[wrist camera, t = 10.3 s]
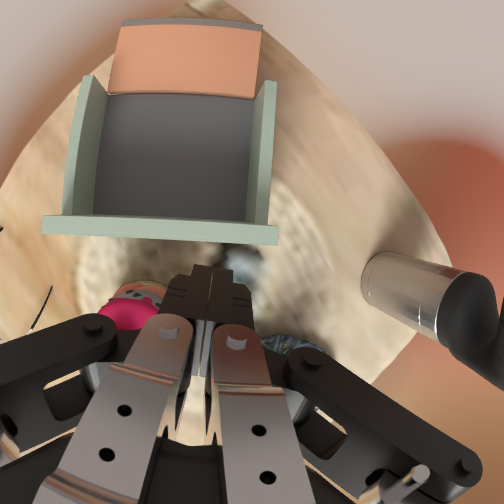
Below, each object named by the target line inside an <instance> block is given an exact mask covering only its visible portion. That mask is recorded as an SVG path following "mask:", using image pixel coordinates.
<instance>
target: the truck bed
mask: <svg viewBox="0 0 504 504" xmlns="http://www.w3.org/2000/svg"><path fill="white" fill-rule="evenodd" d="M276 95H277V81H271V80H265V81H264V83H263V85H262V87H261V89H260V91H259V93H258V94H257V96H256V98H255V100H247V99H239V98H230V97H219V96H206V95H189V94H117V95H108V93H107V92H106V91H105V89H104V88H103V87H102V85H101V84H100V83H99V81H98V80H97V79H96V77H95V76H94V75H87V76H83V80H82V84H81V87H80V91H79V95H78V99H77V104H76V108H75V113H74V118H73V123H72V128H71V133H70V139H69V145H68V152H67V159H66V167H65V176H64V186H63V199H62V215H45V216H42V234H64V235H86V236H108V237H129V238H149V239H168V240H187V241H206V242H224V243H242V244H259V245H276V246H277V243H278V231H279V227H278V226H272V225H267V223H268V210H269V197H270V184H271V170H272V156H273V141H274V126H275V111H276Z"/></svg>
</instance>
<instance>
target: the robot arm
mask: <svg viewBox="0 0 504 504" xmlns="http://www.w3.org/2000/svg"><path fill="white" fill-rule="evenodd" d="M212 270H213V267H209V266H203V265H197V264H194V267H193V270H192V274H191V276H187V275H181V274H178V275H177V276H175V277H174V278H172V279H171V281H170V283H169V285H168V288H167V290H166V293H165V295H164V298H163V300H162V303H161V305H160V308H159V310H158V313H157V315H154V316H152V317H150V318H149V319H148V320H147V321H146V322H145V324H144V326H143V328H140V329H135V330H117V326H116V324H115V322H114V321H113V320H112V319H111V318H109V317H108V316H105V315H102V314H96V313H91V314H85V315H81V316H79V317H76V318H73V319H70V320H67V321H65V322H62V323H59V324H56V325H53V326H51V327H48V328H45V329H42V330H39V331H37V332H34V333H31V334H28V335H25V336H23V337H20V338H17V339H14V340H11V341H8V342H6V343H3V344H0V504H356V503H354V502H353V501H352V500H350V499H349V498H348V497H347V496H345V495H344V494H343V493H341V492H340V491H339V490H337V489H336V488H335V487H334V486H333V485H332V484H330V483H329V482H328V481H327V480H326V479H324V478H323V477H322V476H321V475H319V474H318V473H317V472H316V471H314V470H313V469H311V468H310V467H308V466H306V465H305V464H304V460H303V458H305V459H306V460H307V461H308V462H309V463H311V464H312V465H313V466H314V467H315V468H317V469H318V470H319V471H320V472H322V473H323V474H324V475H326V476H327V477H328V478H329V479H331V480H332V481H333V482H335V483H336V484H337V485H339V486H340V487H341V488H343V489H344V490H345V491H347V492H348V493H350V494H351V495H352V496H354V497H355V498H356V499H358V500H359V502H358V504H451V502H452V501H454V500H455V499H456V498H458V497H459V496H461V495H462V494H464V493H465V492H466V491H468V490H469V489H470V488H472V487H473V486H474V485H476V484H477V483H478V482H479V480H480V479H481V476H482V472H483V471H482V470H483V468H482V464H481V461H480V459H479V457H478V456H477V454H476V453H474V452H473V451H472V450H470V449H469V448H467V447H466V446H464V445H462V444H461V443H459V442H457V441H456V440H454V439H453V438H451V437H449V436H448V435H446V434H444V433H443V432H441V431H440V430H438V429H437V428H435V427H433V426H432V425H430V424H429V423H427V422H426V421H424V420H422V419H421V418H419V417H418V416H416V415H414V414H413V413H412V412H410V411H409V410H407V409H405V408H404V407H402V406H401V405H399V404H398V403H396V402H395V401H393V400H392V399H390V398H389V397H388V396H386V395H385V394H383V393H382V392H380V391H379V390H377V389H376V388H374V387H373V386H371V385H370V384H368V383H367V382H365V381H364V380H363V379H361V378H360V377H358V376H357V375H355V374H354V373H352V372H351V371H350V370H348V369H347V368H345V367H344V366H343V365H341V364H340V363H338V362H337V361H335V360H334V359H333V358H331V357H330V356H328V355H327V354H326V353H324V352H322V351H320V350H318V349H315V348H311V347H299V348H296V349H294V350H292V351H291V352H290V353H289V355H288V356H286V355H283V354H280V353H277V352H274V351H272V350H270V349H268V348H266V347H264V346H263V345H262V342H261V339H260V337H259V335H258V334H257V333H256V332H255V330H254V320H253V310H252V302H251V301H252V299H251V292H250V291H249V289H248V288H247V287H246V286H245V285H244V284H237V283H233V270H228V269H222V268H216V267H215V268H214V274H213V280H212V287H211V293H210V300H209V307H208V314H207V321H206V328H205V336H204V344H203V351H202V359H201V368H200V376H201V377H206V379H205V388H204V396H203V406H204V445H202V446H187V445H184V444H181V443H178V442H176V437H177V432H178V428H179V424H180V420H181V416H182V412H183V408H184V404H185V400H186V396H187V389H188V387H189V385H190V380H191V375H194V376H197V375H198V368H199V360H200V352H201V345H202V338H203V331H204V324H205V317H206V310H207V303H208V296H209V289H210V283H211V276H212ZM361 290H362V294H363V297H364V298H365V300H366V301H367V302H368V303H369V304H370V305H372V306H374V307H375V308H377V309H379V310H381V311H383V312H384V313H386V314H388V315H389V316H391V317H393V318H395V319H397V320H398V321H400V322H402V323H404V324H406V325H407V326H409V327H411V328H413V329H414V330H416V331H418V332H420V333H422V334H423V335H425V336H427V337H429V338H431V339H433V340H434V341H436V342H438V343H440V344H441V345H443V346H445V347H447V348H448V349H449V350H450V352H451V354H452V355H453V356H454V357H455V358H456V359H457V360H459V361H460V362H462V363H463V364H465V365H466V366H468V367H469V368H470V369H472V370H473V371H475V372H476V373H478V374H479V375H480V376H482V377H483V378H485V379H486V380H487V381H489V382H490V383H492V384H493V385H495V386H496V387H498V388H499V389H501V390H503V391H504V298H503V303H502V308H501V314H500V318H499V315H498V310H497V303H496V297H495V291H494V289H493V286H492V284H491V282H490V281H489V280H488V279H487V278H486V277H484V276H482V275H480V274H476V273H472V272H468V271H464V270H460V269H456V268H452V267H448V266H444V265H440V264H436V263H432V262H428V261H424V260H420V259H416V258H412V257H408V256H404V255H400V254H396V253H392V252H382V253H380V254H377V255H376V256H374V257H373V258H372V259H371V260H370V261H369V262H368V264H367V266H366V267H365V269H364V272H363V275H362V279H361ZM77 370H79V371H80V375H77V376H75V377H73V378H71V379H69V380H66V381H64V382H62V383H59V384H57V385H55V386H53V387H50V388H48V389H45V390H43V389H44V387H45V386H46V385H47V384H48V383H50V382H52V381H54V380H56V379H59V378H61V377H63V376H65V375H68V374H70V373H72V372H75V371H77ZM315 407H318V408H319V409H320V410H321V411H323V412H324V413H325V414H327V415H328V416H329V417H330V418H332V419H333V420H334V421H336V422H337V423H338V424H340V425H341V426H342V427H343V428H344V429H345V431H346V433H347V435H346V434H344V433H343V432H342V431H340V430H339V429H338V428H336V427H335V426H334V425H332V424H331V423H330V422H328V421H327V420H326V419H325V418H323V417H322V416H321V415H320V414H318V413H317V412H316V411H315V410H314V409H315ZM76 426H77V428H76V430H75V432H72V433H69V434H66V435H64V436H62V437H59V438H57V439H56V440H54V441H52V442H50V443H48V444H46V445H44V446H42V447H40V448H38V449H36V450H35V451H32V452H31V453H28V454H26V455H24V456H23V457H20V458H19V455H20V453H21V452H23V451H26V450H28V449H30V448H32V447H35V446H37V445H39V444H41V443H43V442H45V441H48V440H50V439H52V438H54V437H56V436H58V435H60V434H62V433H64V432H66V431H68V430H70V429H72V428H74V427H76Z"/></svg>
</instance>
